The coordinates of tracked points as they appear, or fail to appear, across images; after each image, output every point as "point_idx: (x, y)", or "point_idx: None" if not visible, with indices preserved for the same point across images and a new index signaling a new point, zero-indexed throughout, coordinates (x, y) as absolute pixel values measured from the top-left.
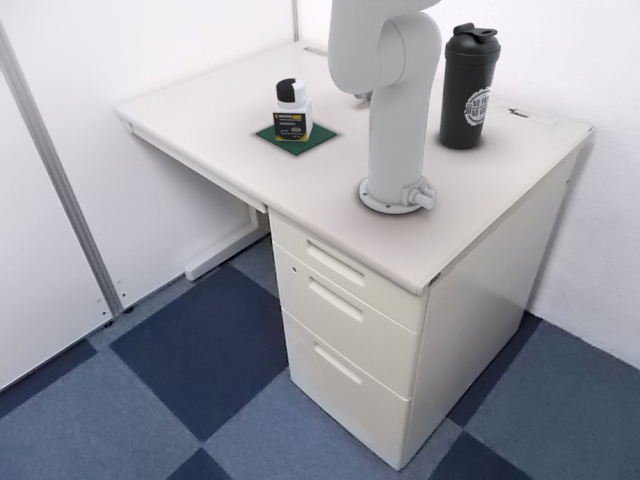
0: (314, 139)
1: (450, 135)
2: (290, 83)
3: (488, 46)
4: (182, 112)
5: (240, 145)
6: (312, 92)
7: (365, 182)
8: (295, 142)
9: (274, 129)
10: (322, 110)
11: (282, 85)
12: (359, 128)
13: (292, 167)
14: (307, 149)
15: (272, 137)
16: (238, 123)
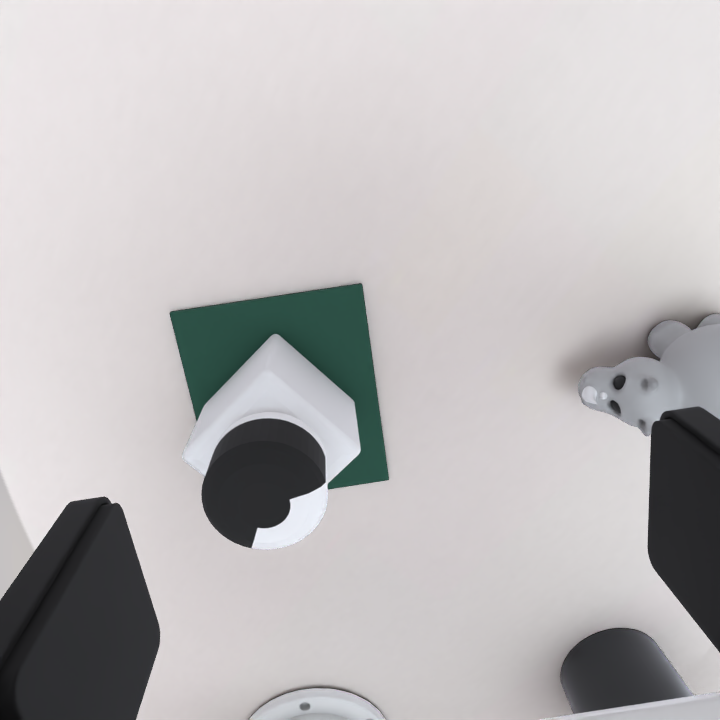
0: None
1: (573, 711)
2: (256, 521)
3: None
4: None
5: (91, 345)
6: (546, 134)
7: (280, 712)
8: None
9: (238, 334)
10: (466, 305)
11: (220, 512)
12: (469, 483)
13: (178, 544)
14: None
15: (205, 378)
16: (149, 185)
